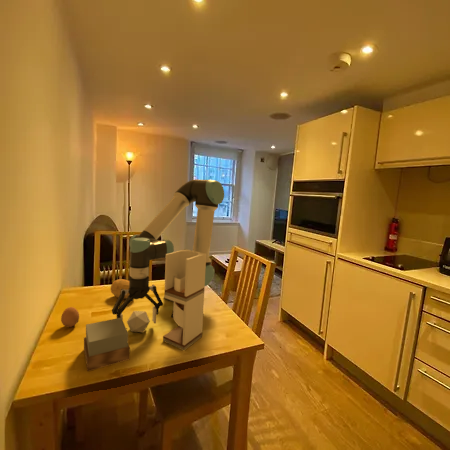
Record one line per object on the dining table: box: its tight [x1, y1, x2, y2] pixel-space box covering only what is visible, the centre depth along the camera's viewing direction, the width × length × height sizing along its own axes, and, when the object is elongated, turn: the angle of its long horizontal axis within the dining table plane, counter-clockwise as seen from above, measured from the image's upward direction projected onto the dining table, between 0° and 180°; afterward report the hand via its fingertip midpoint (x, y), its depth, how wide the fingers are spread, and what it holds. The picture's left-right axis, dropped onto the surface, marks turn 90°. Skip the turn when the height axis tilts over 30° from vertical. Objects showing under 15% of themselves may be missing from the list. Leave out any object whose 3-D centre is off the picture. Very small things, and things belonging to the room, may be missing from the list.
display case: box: [162, 248, 206, 351], centre depth 103 cm, size 11×11×35 cm
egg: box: [60, 306, 80, 328], centre depth 109 cm, size 6×6×8 cm
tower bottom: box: [83, 336, 131, 372], centre depth 93 cm, size 13×13×5 cm
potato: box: [110, 278, 130, 300], centre depth 139 cm, size 10×14×10 cm
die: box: [126, 310, 151, 333], centre depth 109 cm, size 8×9×10 cm
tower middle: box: [85, 317, 129, 357], centre depth 92 cm, size 12×12×5 cm
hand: (138, 325), depth 109 cm, fingers open, 13 cm apart
